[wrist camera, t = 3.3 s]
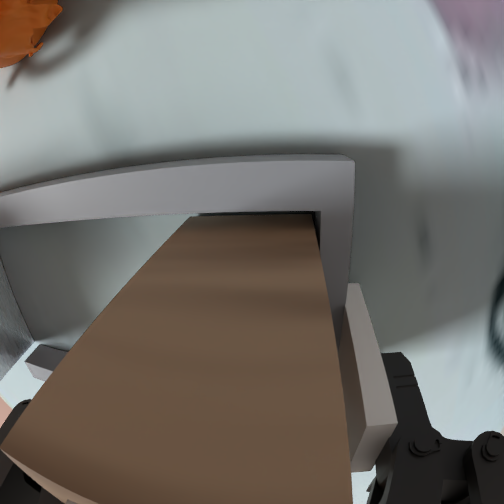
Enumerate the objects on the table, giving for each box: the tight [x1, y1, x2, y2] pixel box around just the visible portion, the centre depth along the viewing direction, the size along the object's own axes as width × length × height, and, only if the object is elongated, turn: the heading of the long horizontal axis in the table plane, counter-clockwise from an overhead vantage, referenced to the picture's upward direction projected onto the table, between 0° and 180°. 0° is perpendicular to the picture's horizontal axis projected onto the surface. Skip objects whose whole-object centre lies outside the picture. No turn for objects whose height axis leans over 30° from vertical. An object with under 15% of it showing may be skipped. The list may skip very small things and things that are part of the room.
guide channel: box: [0, 154, 355, 381], centre depth 13 cm, size 12×19×2 cm, turn 93°
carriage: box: [0, 214, 353, 504], centre depth 8 cm, size 8×4×11 cm, turn 3°
